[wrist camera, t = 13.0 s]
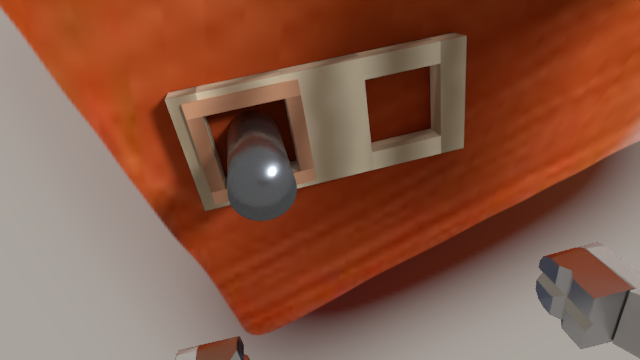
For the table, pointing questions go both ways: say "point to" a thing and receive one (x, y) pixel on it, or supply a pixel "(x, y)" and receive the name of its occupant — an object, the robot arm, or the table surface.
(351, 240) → the table surface
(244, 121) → the steel peg
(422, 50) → the beige flat frame
